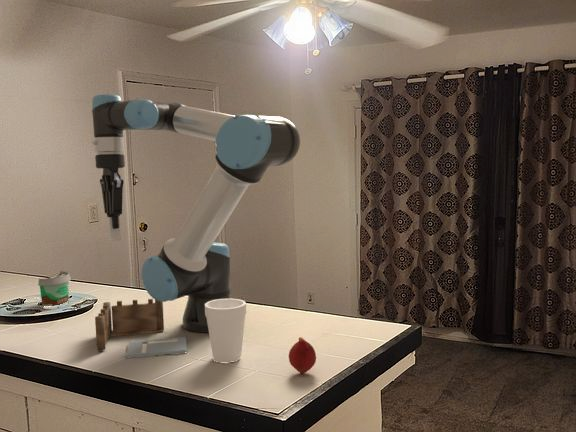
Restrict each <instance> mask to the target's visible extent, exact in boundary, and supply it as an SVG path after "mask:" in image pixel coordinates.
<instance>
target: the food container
mask: <svg viewBox="0 0 576 432" xmlns="http://www.w3.org/2000/svg"><path fill="white" fill-rule="evenodd" d="M71 280H72V278H71V275H70V272H68V271H63V270H60V271H59V274H57V275H50V276H48V277H47V278H39V279H38V283H37V284H38V285H37V286H39V290H40V298H41V304H42V305H41V307H42V308H43V307H44V306H54V305H60V304H63V303H65V302H67V301H68V302H69V295H70V294H69V289H70V288H69V287H70V285H69V284H70V283H69V282H70V281H71Z"/></svg>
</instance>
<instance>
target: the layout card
mask: <svg viewBox="0 0 576 432" xmlns="http://www.w3.org/2000/svg"><path fill="white" fill-rule="evenodd" d="M127 344H128V345H127V350H126V354H125V357H126V359H132V358H131V357H135V358H143V357H144V358H145V356H147V357H154V356H155V355H159V356H166V355H165V354H171V355H176V354H175V353H183V354H186V353H185V352H187V353H188V349H187V337H186V336H181V337H179V336H178V337H168V338H156V339H155V338H154V339H143V340H131V341H129V342H128V343H127ZM155 357H156V356H155Z"/></svg>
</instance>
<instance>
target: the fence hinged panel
mask: <svg viewBox="0 0 576 432" xmlns="http://www.w3.org/2000/svg"><path fill="white" fill-rule="evenodd" d="M94 323H95V325H94V326H95V337H96V338H95V339H96V342H95V343H96V350H97V351H100V352H101V351H105V350H106V344H107V342H108V339H109V338H110V336H109V335H110V320H109V308H108V305H103V304H102V308H101V309H100V313H98V314H97V315H96V316H95V317H94Z"/></svg>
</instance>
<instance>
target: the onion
mask: <svg viewBox="0 0 576 432" xmlns="http://www.w3.org/2000/svg"><path fill="white" fill-rule="evenodd" d="M316 354H317V353H316V351H315V349H314V346H313V345H312V344H311V343H309V342H308V341H306V340H305V339H304V338H303V337H302V336H300V337H298V341H297V342H295V343H294V344H293V345H292V346H291V348H290V350H289V352H288V359H289V360H288V361H289V364H290V366H291V367H293V368H294V369H295V371H297V372H298V373H299V372H300V373H299V374H301V373H304V374H305V373H308V371H310V370H311V369H312V368H313V367H314V366H315V363H316V361H317V356H316Z"/></svg>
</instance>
